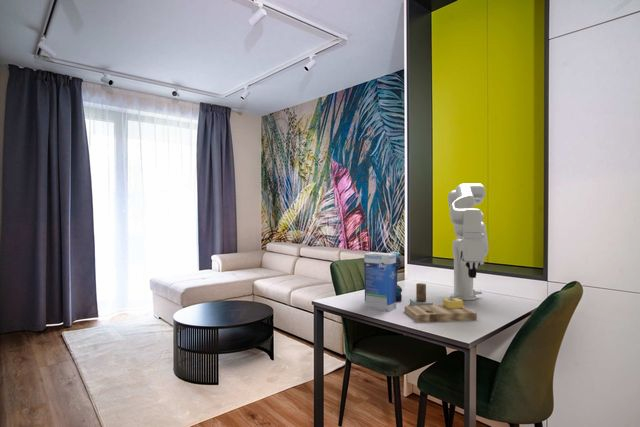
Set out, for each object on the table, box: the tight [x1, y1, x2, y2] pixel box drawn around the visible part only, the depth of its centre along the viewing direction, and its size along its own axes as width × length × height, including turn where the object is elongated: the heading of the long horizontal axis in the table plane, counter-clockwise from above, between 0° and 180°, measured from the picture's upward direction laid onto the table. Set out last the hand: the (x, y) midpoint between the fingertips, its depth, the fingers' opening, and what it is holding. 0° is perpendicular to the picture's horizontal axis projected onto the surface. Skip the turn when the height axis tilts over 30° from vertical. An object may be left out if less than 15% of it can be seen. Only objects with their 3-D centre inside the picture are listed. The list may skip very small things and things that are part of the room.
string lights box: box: [363, 251, 397, 312], centre depth 168 cm, size 13×8×26 cm, turn 52°
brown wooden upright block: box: [415, 282, 427, 302], centre depth 170 cm, size 4×4×10 cm
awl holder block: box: [409, 298, 434, 306], centre depth 170 cm, size 8×8×3 cm
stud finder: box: [442, 297, 464, 308], centre depth 160 cm, size 7×5×3 cm
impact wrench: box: [388, 250, 403, 303], centre depth 185 cm, size 8×23×25 cm, turn 174°
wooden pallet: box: [404, 304, 478, 323], centre depth 155 cm, size 26×15×3 cm, turn 97°
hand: (472, 277), depth 160 cm, fingers closed
